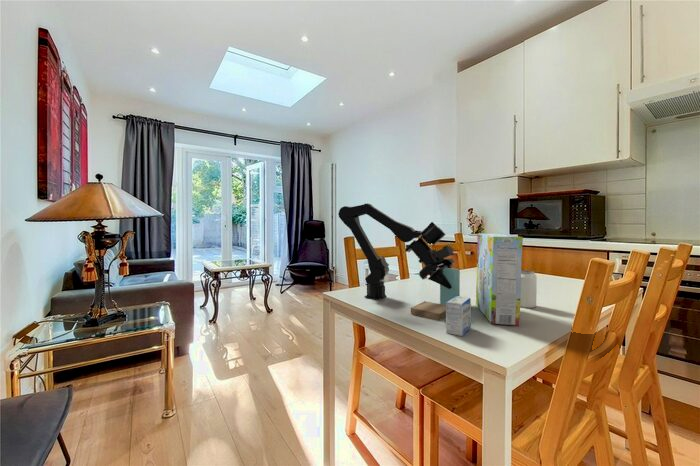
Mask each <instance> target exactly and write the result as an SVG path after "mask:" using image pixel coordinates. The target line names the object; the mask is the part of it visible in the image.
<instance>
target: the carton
mask: <svg viewBox="0 0 700 466" xmlns="http://www.w3.org/2000/svg"><path fill="white" fill-rule="evenodd" d="M460 273H461V272H460V268H459V269H458V268H452V269H451V268H444V269H443V274H444V276H445V277H446V279H447V280H448V282H449V283H450V285H451V286H452V288H451V289H448V288H446V287H444V286H442V285H440V284H439V304H443V305H446V302H448V301H449V300H451V299H452V298H454V297H455V296H460V294H461V293H460V291H461V290H460V289H461V288H460V283H461V280H460V278H461V277H460V275H461V274H460ZM460 297H461V296H460Z"/></svg>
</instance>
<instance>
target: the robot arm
mask: <svg viewBox="0 0 700 466" xmlns="http://www.w3.org/2000/svg"><path fill="white" fill-rule="evenodd" d="M337 213H338V214H337V215H338V218H339V219H340V221H341V222H342V223H343V224H344V225H345V226H346V227H347V228H348V229H349V230H350V231H351V233H352V235H353V236H354V238H355V240H356V242H357V244H358V246H359V247H360V249H361V251H362V252H363V255H364V256H365V258H366V261H367V264H368V269H369V271H370V272H369V274H368V275H367V276H366V277H365V278H364V280H365V282H366V295H364V298H366V299H373V300H376V301H377V300H381V299H382V298H383V299H384V298H386V297H387V294H386V286H385V281H384V279H385V277H387V276H388V275H389V273H390V272H389V271H390V267H389V266H390V264H389V263H388V262H387V260H386V258H385V256H382V257H380V256H379V255H378V253H377V251H376V249H375V248H374V246H373V245H372V242H371V241H370V239H369V238H368V236H367V234H366V233H365V230H364V229H363V227H362V225H361V223H360V222H361V221H360V217H362V216H364V215H368V217H370V218H372V219H374V220H375V221H376V222H378V223H379V224H380V225H383V226H384V227H386V228H387V229H389V230H390V231H391V232H392V233H393V235H394V236H396V238H398V239H399V240H400V241H401V242H402V243H409V242H411V241H412V242H411V243H409V244H405V252H406V253H410V252H411V251H412V252H413V254H414V255H415V256H416V257H417V258H418V263H420V264H423V265H424V267H423V268H422V269H421V270H419V272H418V273H419V275H418V276H419V277H420V279H422V280H425V279H426V280H429V281H432V282H434V283H436V284H438V285H439V286H440V285H442V286H444V287H446V288H448V289H451V288H452V286H451V285H450V283H449V282H448V280H447V279H446V277H445V276H444V274H443V269H444V268H451V269H453V265H454V264H455V261H454V259H453V258H451V256H453V255H455V254H454V250H455V249H454V248H452V246H449V245H448V244H447V245H445V246H443V247H442V248H441V249H439V250H436V249H432V248H431V247H430V246H429V245H436V244H437V243H439V241H440V240H441V239H443V238H444V237H445V236H446V233H445V232H444V230H443V229H442V228H440V227H439V226H437V224H435V223H434V221H431V222H430V223H429V224H428V225H427V226H426V227H425V228H424V229H423V230H422V231H421V230H415V229H414V228H413V227H412V226H409V225H408V224H405V223H403V222H402V223H401V222H399V221H397V220H395V219H394V218H392V217H390V216H389V215H387V214H385V213H384V212H383V211H381V210H380V209H378V208H376V207H375V206H373V205H372V204H371V203H363V204H360V205H355V206H347V205H346V206H345V205H344V206H342V207H340V208H339V210H338V212H337ZM416 239H417V240H416ZM448 257H449V258H448ZM428 276H429V277H428Z"/></svg>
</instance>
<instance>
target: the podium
mask: <svg viewBox="0 0 700 466" xmlns="http://www.w3.org/2000/svg"><path fill="white" fill-rule="evenodd" d="M410 314H411V315H413V316H414V315H415V316H419V317H421V318H422V317H424V318H427V319H432V320H437V321H441V320H443V319H444V318H445V319H446V305H443V304H440V303H437V302H432V301H426V300H424V301H422V302H420V303H418V304H416V305H414V306H412V307H410Z"/></svg>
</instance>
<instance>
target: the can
mask: <svg viewBox="0 0 700 466" xmlns="http://www.w3.org/2000/svg"><path fill="white" fill-rule="evenodd" d="M537 281H538V278H537V275H536V272H535V271H532V270H525V269H524V270H522V269H521V295H520V308H524V309H534V308H535V307H537V283H538V282H537Z"/></svg>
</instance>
